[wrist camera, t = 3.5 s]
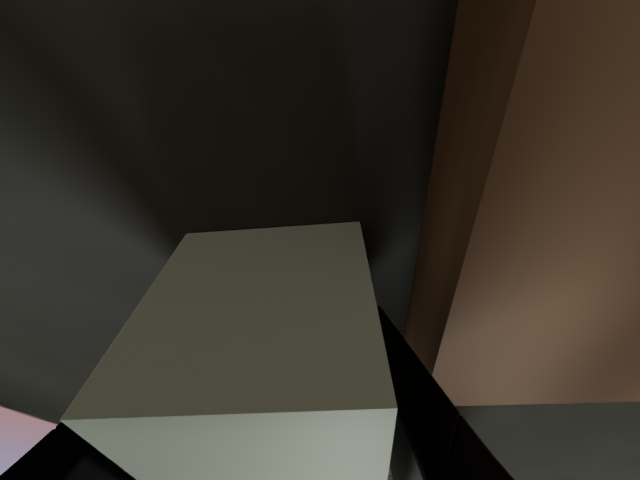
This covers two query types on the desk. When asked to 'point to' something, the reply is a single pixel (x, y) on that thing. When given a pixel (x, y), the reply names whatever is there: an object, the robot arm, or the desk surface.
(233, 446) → the sage cube
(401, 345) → the robot arm
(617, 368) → the walnut block
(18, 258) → the desk surface
